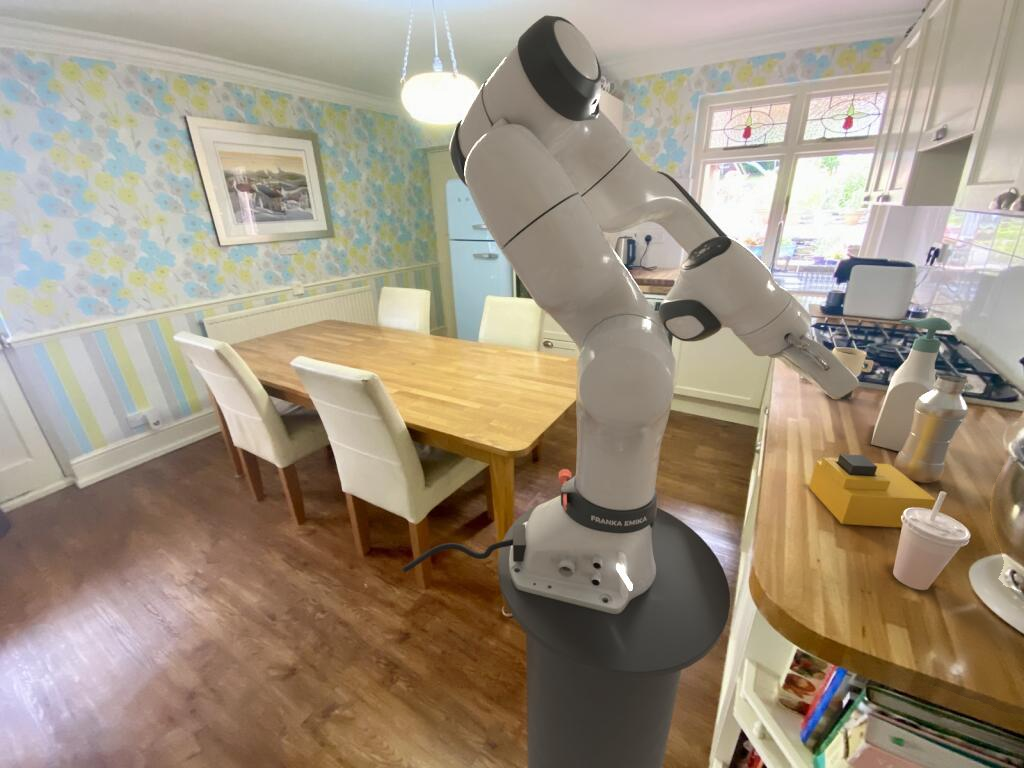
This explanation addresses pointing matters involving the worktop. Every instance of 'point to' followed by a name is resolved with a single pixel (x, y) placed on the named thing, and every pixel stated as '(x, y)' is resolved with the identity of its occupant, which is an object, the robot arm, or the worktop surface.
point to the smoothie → (927, 544)
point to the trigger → (856, 465)
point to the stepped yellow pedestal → (867, 494)
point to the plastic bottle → (933, 430)
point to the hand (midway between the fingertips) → (831, 389)
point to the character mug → (853, 361)
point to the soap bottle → (909, 386)
